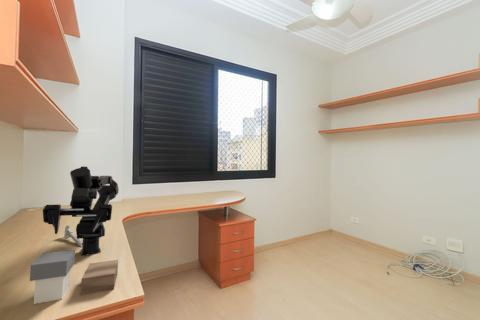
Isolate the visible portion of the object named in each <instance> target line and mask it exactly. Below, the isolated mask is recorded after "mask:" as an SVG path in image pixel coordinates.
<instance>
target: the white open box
mask: <svg viewBox="0 0 480 320" xmlns="http://www.w3.org/2000/svg"><path fill="white" fill-rule="evenodd" d="M70 279H71V270H70V271H69V272H68V274H67V275H66V276H61V277H55V278H48V279H41V280H34V292H33V293H34V294H33V295H34V296H33V305H37V304H36V303H38V304H43V302H44V303H47V302H54V301H58V300H59V301H60V300H63V298H64V297H65V295H66V293H67V292H68V290H69V288H70V282H71V280H70Z"/></svg>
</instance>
